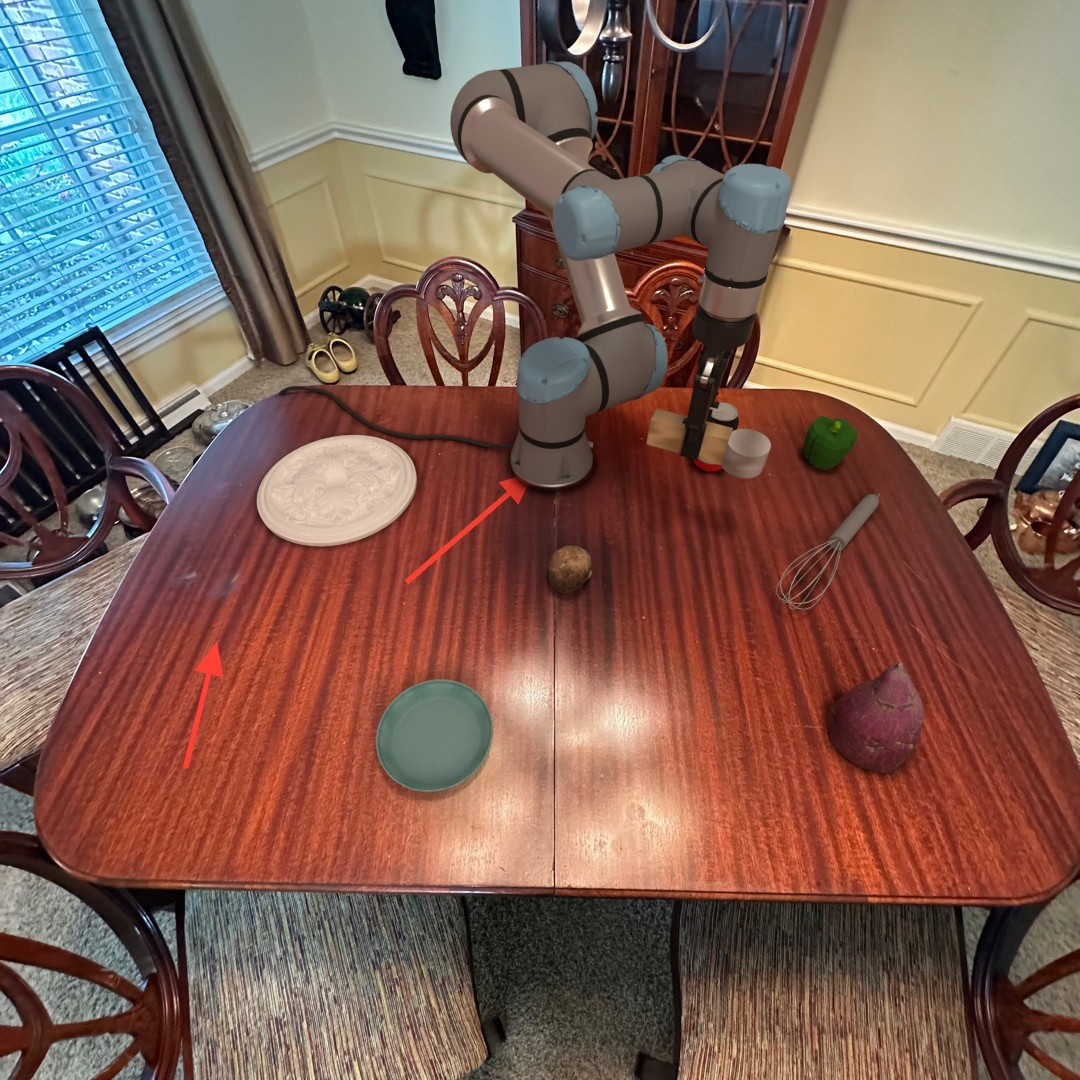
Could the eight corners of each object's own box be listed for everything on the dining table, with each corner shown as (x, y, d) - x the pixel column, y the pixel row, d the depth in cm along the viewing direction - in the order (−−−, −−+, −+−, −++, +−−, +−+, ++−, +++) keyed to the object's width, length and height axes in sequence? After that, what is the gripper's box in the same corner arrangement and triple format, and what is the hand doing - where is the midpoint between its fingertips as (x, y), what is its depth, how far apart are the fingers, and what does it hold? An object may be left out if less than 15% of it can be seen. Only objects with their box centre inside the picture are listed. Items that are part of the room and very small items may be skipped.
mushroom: (611, 559, 93) (589, 541, 89) (592, 606, 91) (569, 589, 87) (573, 553, 99) (551, 536, 95) (555, 597, 97) (531, 581, 93)
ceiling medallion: (425, 528, 102) (422, 516, 100) (253, 560, 98) (246, 547, 95) (408, 428, 120) (405, 415, 118) (262, 451, 116) (256, 438, 113)
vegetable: (810, 714, 83) (823, 637, 75) (886, 704, 83) (907, 625, 74) (846, 782, 75) (864, 703, 66) (930, 771, 74) (960, 690, 66)
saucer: (434, 825, 71) (431, 818, 69) (356, 746, 77) (351, 737, 75) (517, 734, 78) (516, 725, 76) (440, 668, 85) (437, 658, 83)
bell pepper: (809, 440, 117) (828, 397, 110) (850, 459, 113) (871, 416, 106) (788, 461, 113) (805, 418, 106) (829, 482, 110) (850, 439, 102)
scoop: (642, 450, 95) (647, 425, 91) (655, 427, 98) (659, 402, 95) (758, 483, 90) (767, 458, 86) (766, 457, 93) (775, 432, 90)
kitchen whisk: (891, 507, 105) (907, 480, 101) (799, 627, 89) (813, 603, 84) (857, 490, 108) (871, 464, 103) (762, 604, 92) (774, 579, 87)
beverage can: (732, 464, 113) (749, 412, 104) (710, 479, 110) (726, 427, 101) (706, 447, 116) (720, 395, 107) (684, 461, 113) (696, 409, 104)
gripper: (712, 275, 82) (682, 414, 100) (681, 331, 73) (654, 474, 91) (768, 286, 80) (727, 426, 98) (743, 345, 71) (703, 488, 89)
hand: (692, 449), depth 94 cm, fingers closed on scoop, 3 cm apart
